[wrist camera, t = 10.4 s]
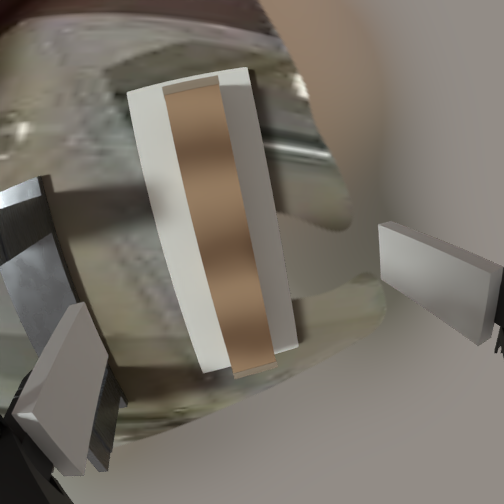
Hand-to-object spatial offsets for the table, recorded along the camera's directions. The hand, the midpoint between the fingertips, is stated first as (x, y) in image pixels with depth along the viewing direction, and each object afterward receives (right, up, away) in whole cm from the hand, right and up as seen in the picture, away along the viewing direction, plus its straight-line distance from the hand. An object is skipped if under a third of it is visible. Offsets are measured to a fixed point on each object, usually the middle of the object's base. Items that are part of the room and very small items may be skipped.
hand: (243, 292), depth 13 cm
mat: (-2, +3, +12) cm, 12 cm away
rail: (-2, +3, +11) cm, 12 cm away
